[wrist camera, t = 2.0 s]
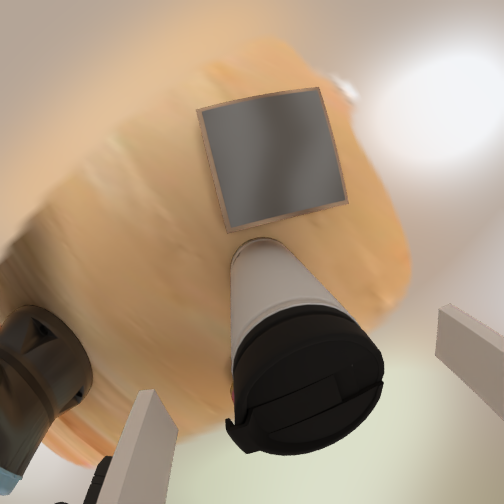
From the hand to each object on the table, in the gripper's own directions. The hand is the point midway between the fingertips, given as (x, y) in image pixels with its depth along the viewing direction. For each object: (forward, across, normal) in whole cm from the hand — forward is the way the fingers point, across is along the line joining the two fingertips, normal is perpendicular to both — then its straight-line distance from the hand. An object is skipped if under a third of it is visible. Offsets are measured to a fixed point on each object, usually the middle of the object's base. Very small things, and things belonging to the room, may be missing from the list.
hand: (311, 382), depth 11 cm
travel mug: (+18, 0, 0) cm, 18 cm away
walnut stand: (+18, +2, +10) cm, 21 cm away
